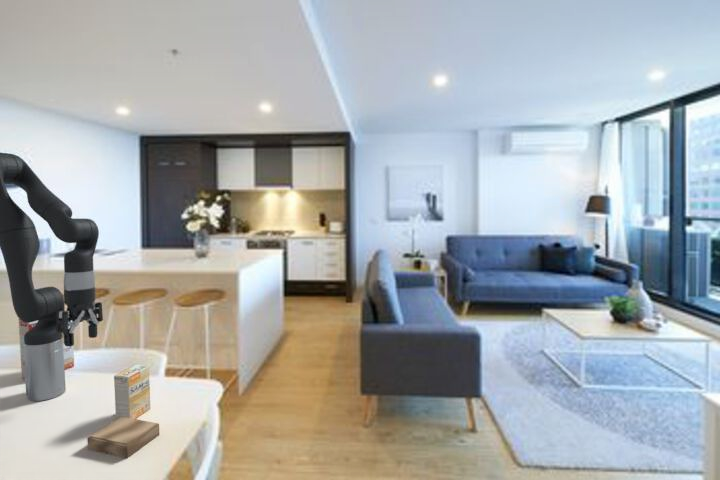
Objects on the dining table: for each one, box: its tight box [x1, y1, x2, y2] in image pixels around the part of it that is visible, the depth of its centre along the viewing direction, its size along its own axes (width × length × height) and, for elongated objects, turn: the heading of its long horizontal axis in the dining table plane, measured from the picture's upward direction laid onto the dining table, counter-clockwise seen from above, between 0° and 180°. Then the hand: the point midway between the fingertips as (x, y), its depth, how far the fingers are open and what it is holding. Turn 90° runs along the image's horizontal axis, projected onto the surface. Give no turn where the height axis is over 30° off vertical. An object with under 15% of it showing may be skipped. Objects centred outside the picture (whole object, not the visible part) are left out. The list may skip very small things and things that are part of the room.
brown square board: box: [86, 417, 160, 459], centre depth 102 cm, size 12×10×3 cm
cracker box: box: [18, 309, 75, 380], centre depth 141 cm, size 14×6×21 cm, turn 158°
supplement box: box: [113, 364, 151, 420], centre depth 114 cm, size 8×5×13 cm, turn 168°
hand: (81, 341), depth 120 cm, fingers open, 8 cm apart
